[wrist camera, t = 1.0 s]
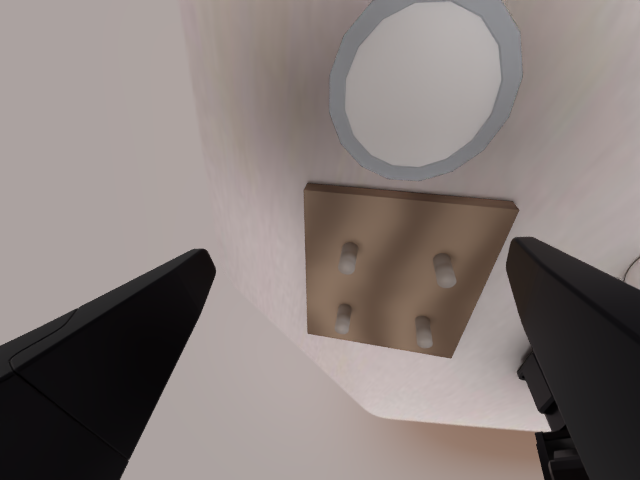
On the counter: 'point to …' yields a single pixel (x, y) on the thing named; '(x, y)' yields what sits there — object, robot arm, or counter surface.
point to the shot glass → (424, 84)
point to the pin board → (398, 264)
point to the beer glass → (634, 275)
